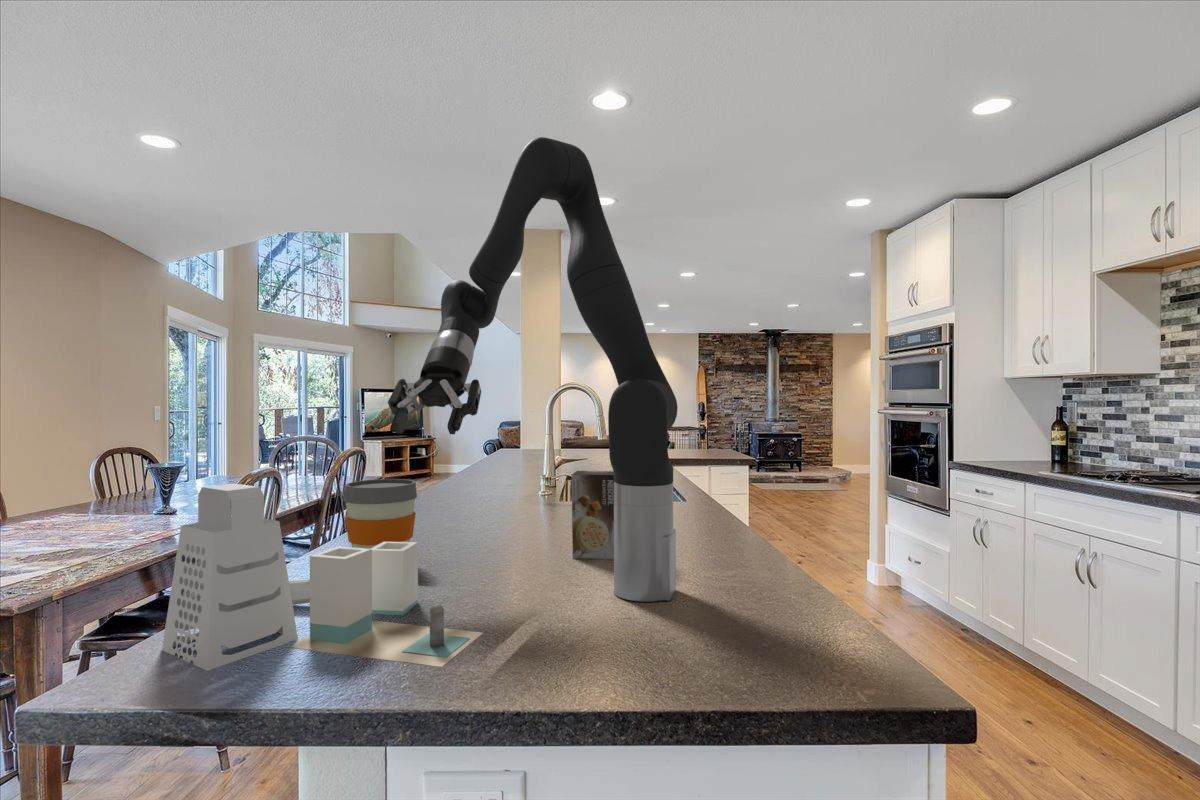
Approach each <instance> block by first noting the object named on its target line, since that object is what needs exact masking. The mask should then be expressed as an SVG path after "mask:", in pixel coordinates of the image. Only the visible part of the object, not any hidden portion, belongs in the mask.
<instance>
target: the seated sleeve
mask: <svg viewBox="0 0 1200 800" xmlns="http://www.w3.org/2000/svg"><path fill="white" fill-rule="evenodd" d="M309 580H310V603H309V636H310V640H316V641H324V642H332V643H340V644H347V643H349V642H350V641H352V640H354V639H356V638H357V637H359V636H361V635H362V634H364V633H366V632H368V631H369V630H371V629H372V621H373V614H372V549H366V548H352V546H351V547H349V546H335V547H332V548H329V549H327V550H323V551H320V552H317V553H315V554H312V555H309Z"/></svg>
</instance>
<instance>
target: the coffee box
mask: <svg viewBox="0 0 1200 800" xmlns="http://www.w3.org/2000/svg"><path fill="white" fill-rule="evenodd" d="M571 524H572V525H571V531H572V532H571V533H572V534H571V535H572V536H571V537H572V540H571V541H572V546H571V547H572V559H586V560H587V559H588V560H590V559H591V560H593V559H594V560H612V561H614V472H613V470H608V471H607V470H576V471H574V472H573V474H571Z"/></svg>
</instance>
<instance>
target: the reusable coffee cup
mask: <svg viewBox="0 0 1200 800" xmlns="http://www.w3.org/2000/svg"><path fill="white" fill-rule="evenodd" d="M417 492H418V491H417V486H416V481H415V480H414V479H413V480H412V479H407V478H406V479H405V478H403V479H402V478H379V479H378V478H377V479H365V480H357V481H356V480H355V481H351V482H348V483H345V485H344V492H343V502H345V507H346V508H345V509H346V515H345V525H346V533H347V541H348V542H349V543H350V544H351V547H352V548H366V549H371V548H373V547H374V546H376V545H378V544H380V543H382V542H411V541H410V540H411V539H412V538H413V536H414V527H415V521H416V511H414V510H415V502H416V499H417V498H418V493H417Z"/></svg>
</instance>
